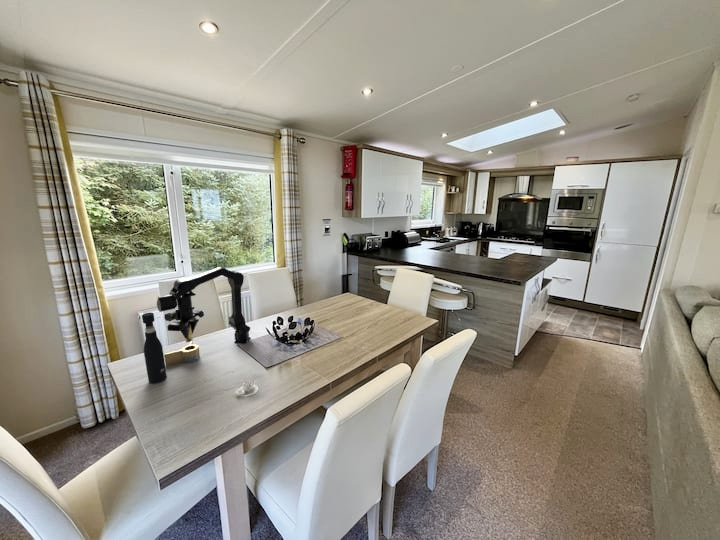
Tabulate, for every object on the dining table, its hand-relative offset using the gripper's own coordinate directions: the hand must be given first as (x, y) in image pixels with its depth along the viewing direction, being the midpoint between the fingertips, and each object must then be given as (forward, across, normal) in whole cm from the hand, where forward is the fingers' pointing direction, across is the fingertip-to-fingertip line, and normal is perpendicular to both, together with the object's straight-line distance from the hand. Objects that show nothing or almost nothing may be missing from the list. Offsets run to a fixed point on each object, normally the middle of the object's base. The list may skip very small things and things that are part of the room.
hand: (188, 336), depth 137 cm
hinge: (+12, -1, -2) cm, 12 cm away
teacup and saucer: (+12, +21, +35) cm, 42 cm away
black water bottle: (+12, +17, -4) cm, 21 cm away
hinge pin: (+2, 0, 0) cm, 2 cm away
